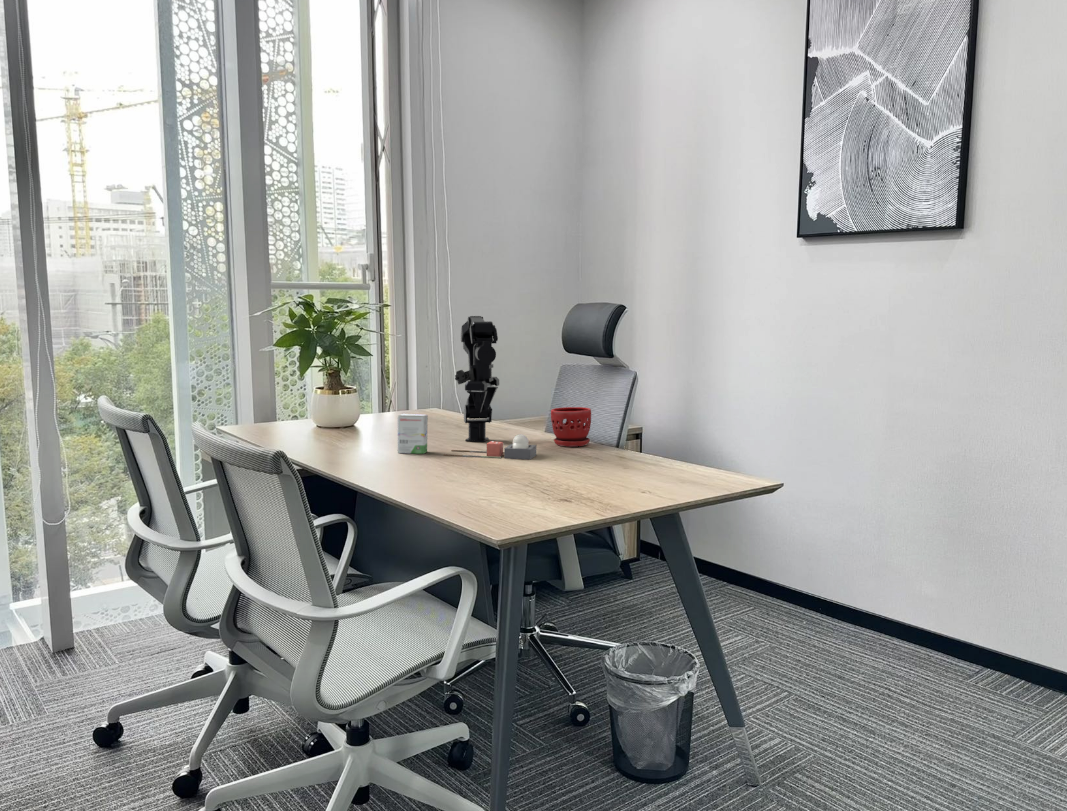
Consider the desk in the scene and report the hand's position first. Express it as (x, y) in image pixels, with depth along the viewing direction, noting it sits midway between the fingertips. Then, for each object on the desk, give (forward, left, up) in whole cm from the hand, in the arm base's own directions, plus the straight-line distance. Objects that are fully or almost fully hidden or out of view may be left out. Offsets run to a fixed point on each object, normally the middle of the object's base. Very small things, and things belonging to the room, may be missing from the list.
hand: (482, 410), depth 273 cm
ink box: (+12, -19, -12) cm, 26 cm away
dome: (+11, +15, -12) cm, 22 cm away
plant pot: (-13, +26, -12) cm, 32 cm away
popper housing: (+11, +15, -12) cm, 22 cm away
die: (+11, +7, -12) cm, 18 cm away
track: (+11, +1, -12) cm, 16 cm away
